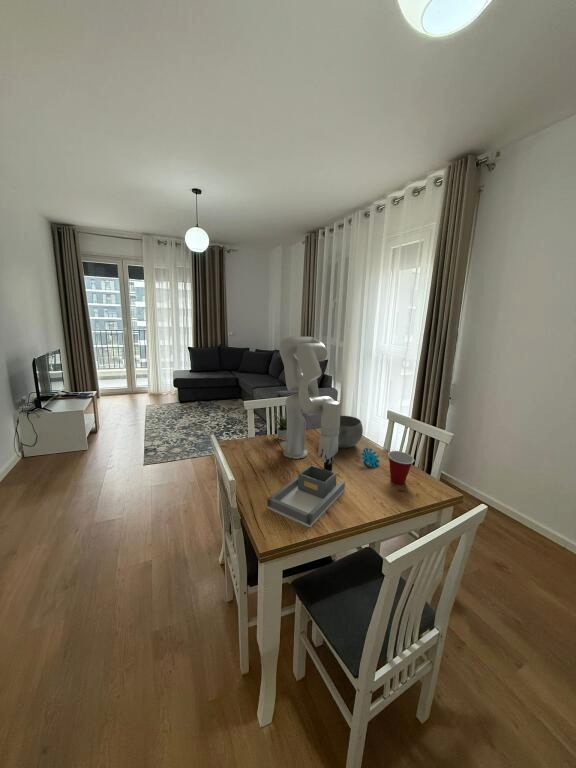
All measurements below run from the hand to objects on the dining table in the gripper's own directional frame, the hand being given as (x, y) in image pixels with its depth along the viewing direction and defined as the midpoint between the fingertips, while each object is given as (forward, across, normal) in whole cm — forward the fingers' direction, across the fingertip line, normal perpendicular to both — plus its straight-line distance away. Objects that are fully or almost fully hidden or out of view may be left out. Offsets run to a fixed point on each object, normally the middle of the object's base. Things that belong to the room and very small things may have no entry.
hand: (327, 470), depth 131 cm
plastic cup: (+5, -19, +25) cm, 32 cm away
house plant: (+5, -27, -44) cm, 52 cm away
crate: (+4, +9, 0) cm, 10 cm away
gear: (+5, -27, +10) cm, 29 cm away
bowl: (+5, -40, -11) cm, 42 cm away
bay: (+5, +16, 0) cm, 17 cm away
